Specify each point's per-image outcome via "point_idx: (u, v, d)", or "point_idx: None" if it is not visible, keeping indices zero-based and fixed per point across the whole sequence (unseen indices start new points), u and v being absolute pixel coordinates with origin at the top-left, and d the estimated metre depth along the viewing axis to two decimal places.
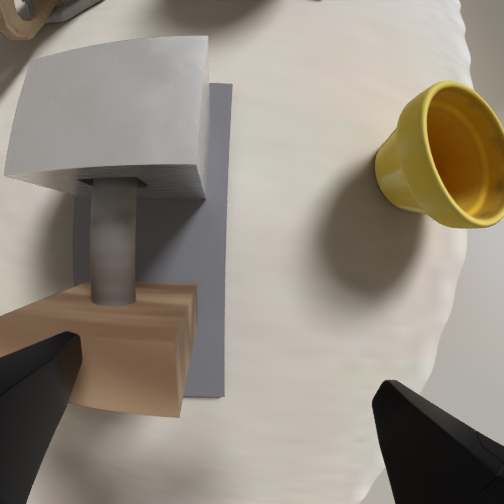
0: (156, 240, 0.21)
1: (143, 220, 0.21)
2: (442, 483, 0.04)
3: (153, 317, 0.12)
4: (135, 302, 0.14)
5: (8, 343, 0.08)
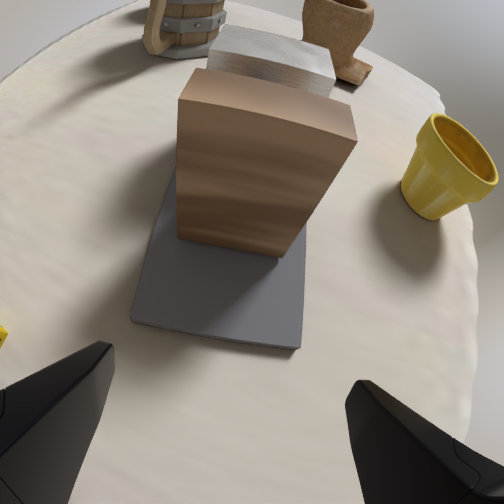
0: None
1: None
2: (413, 493, 0.04)
3: None
4: None
5: (209, 78, 0.12)
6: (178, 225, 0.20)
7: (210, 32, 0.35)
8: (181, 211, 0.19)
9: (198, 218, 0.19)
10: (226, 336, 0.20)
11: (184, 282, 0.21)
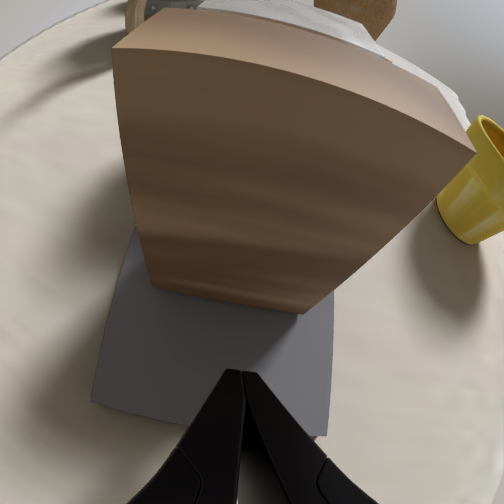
0: None
1: None
2: None
3: None
4: None
5: (187, 17, 0.05)
6: (150, 273, 0.13)
7: None
8: (151, 256, 0.12)
9: (179, 267, 0.12)
10: None
11: (163, 353, 0.14)
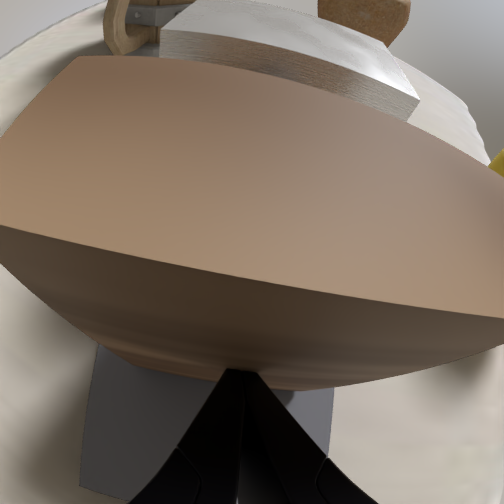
0: None
1: None
2: None
3: None
4: None
5: (99, 84, 0.03)
6: (128, 361, 0.11)
7: None
8: (124, 356, 0.09)
9: (157, 365, 0.10)
10: None
11: (148, 446, 0.11)
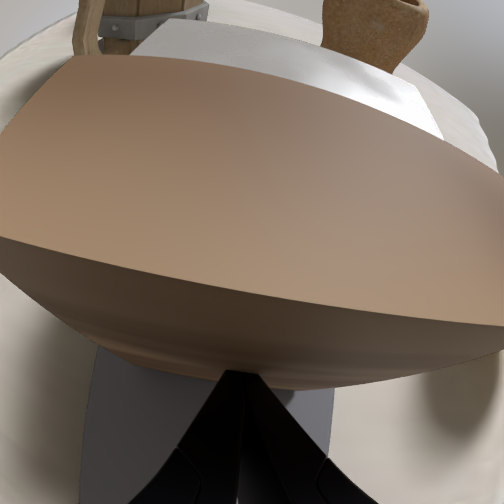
0: None
1: None
2: None
3: None
4: None
5: (94, 85, 0.03)
6: None
7: None
8: (124, 356, 0.09)
9: (157, 365, 0.10)
10: None
11: None
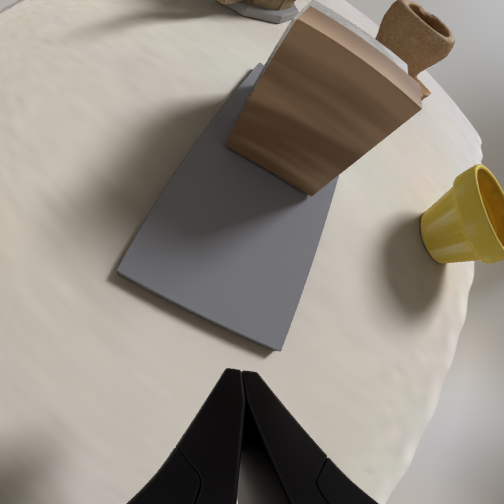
0: None
1: None
2: None
3: None
4: None
5: (320, 17, 0.12)
6: (232, 132, 0.21)
7: (286, 1, 0.30)
8: (244, 118, 0.19)
9: (256, 131, 0.20)
10: (211, 318, 0.19)
11: (184, 249, 0.19)
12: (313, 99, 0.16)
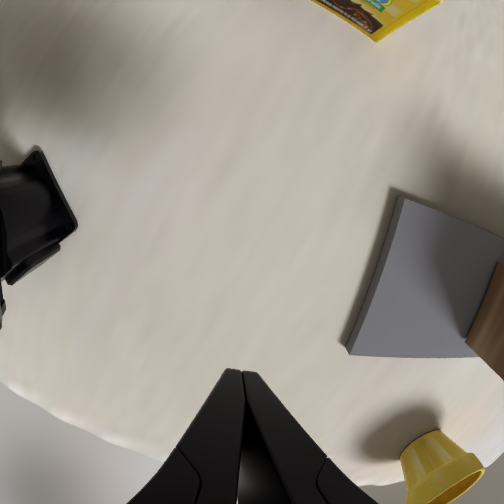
0: (478, 311, 0.21)
1: None
2: None
3: None
4: None
5: None
6: None
7: None
8: None
9: None
10: (376, 292, 0.20)
11: (427, 254, 0.19)
12: None
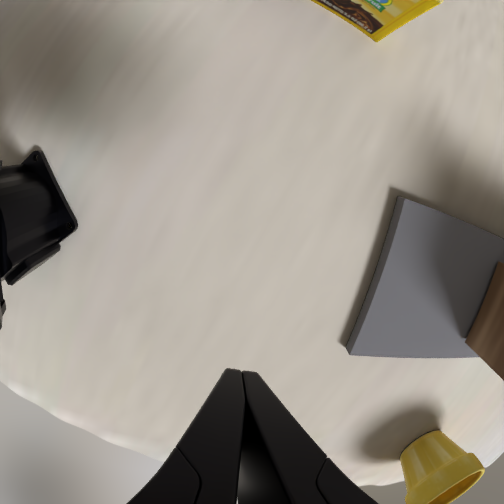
0: (478, 311, 0.21)
1: None
2: None
3: None
4: None
5: None
6: None
7: None
8: None
9: None
10: (376, 292, 0.20)
11: (427, 254, 0.19)
12: None
